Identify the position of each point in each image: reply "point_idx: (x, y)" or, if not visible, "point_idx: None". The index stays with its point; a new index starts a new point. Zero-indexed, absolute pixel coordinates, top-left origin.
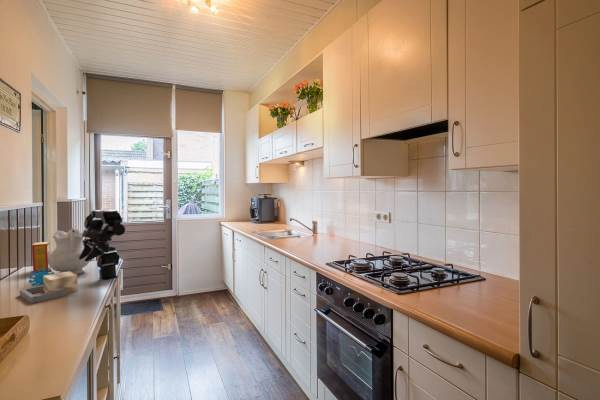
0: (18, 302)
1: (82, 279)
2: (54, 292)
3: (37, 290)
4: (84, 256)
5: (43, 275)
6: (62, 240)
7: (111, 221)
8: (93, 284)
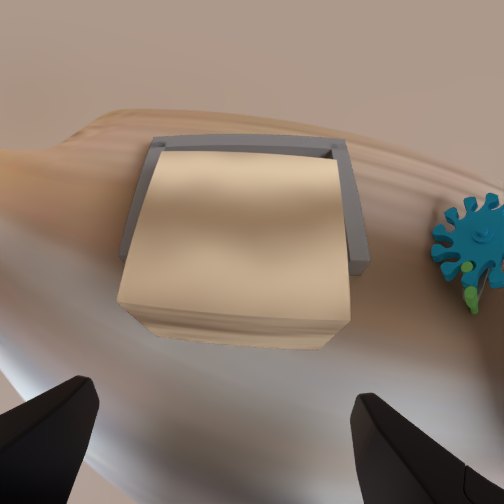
0: None
1: None
2: (132, 203)
3: None
4: (365, 485)
5: (489, 238)
6: None
7: None
8: (228, 462)
